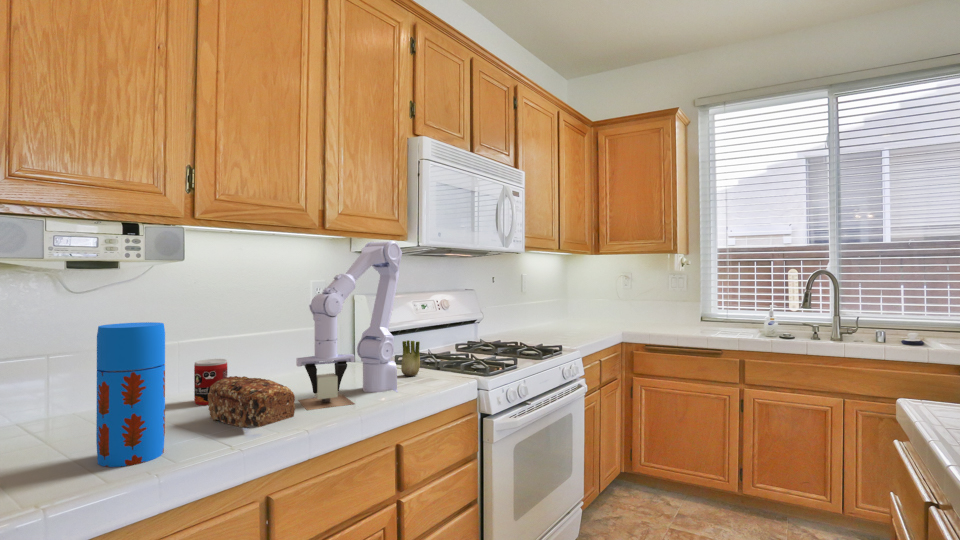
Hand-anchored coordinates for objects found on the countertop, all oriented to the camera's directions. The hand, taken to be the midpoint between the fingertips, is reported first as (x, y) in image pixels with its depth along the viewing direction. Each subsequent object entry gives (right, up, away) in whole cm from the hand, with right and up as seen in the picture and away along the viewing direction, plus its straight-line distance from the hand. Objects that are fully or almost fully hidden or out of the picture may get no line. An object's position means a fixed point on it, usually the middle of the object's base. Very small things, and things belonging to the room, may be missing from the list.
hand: (326, 391), depth 137 cm
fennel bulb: (+17, -4, +39) cm, 43 cm away
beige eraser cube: (0, -1, 0) cm, 1 cm away
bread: (-14, -4, -13) cm, 19 cm away
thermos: (-26, -4, -38) cm, 46 cm away
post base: (0, -4, 0) cm, 4 cm away
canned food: (-33, -4, +5) cm, 33 cm away
